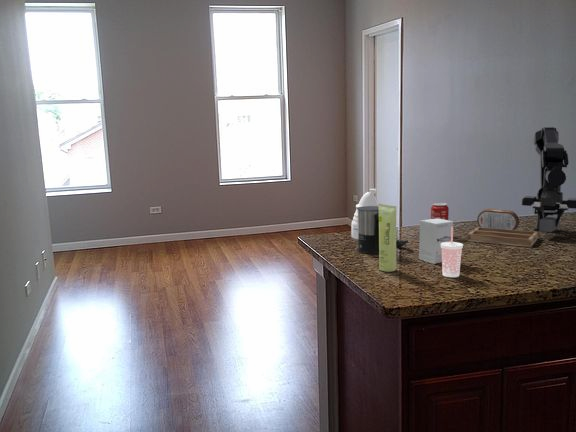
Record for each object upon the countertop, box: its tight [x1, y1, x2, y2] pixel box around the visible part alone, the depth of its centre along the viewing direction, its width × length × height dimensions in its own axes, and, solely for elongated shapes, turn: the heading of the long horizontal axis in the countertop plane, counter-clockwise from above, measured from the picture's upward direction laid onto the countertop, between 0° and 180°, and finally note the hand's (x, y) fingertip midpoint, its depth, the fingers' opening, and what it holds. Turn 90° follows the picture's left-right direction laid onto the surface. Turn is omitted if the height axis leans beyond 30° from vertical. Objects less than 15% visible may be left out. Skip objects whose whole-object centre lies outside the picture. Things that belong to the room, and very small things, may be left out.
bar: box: [538, 215, 561, 233], centre depth 210 cm, size 11×4×4 cm, turn 141°
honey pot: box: [350, 188, 380, 240], centre depth 217 cm, size 13×13×18 cm
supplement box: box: [418, 218, 454, 265], centre depth 181 cm, size 7×7×13 cm
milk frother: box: [356, 206, 409, 254], centre depth 196 cm, size 14×16×15 cm
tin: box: [476, 208, 520, 230], centre depth 221 cm, size 15×3×8 cm, turn 58°
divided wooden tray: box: [467, 226, 539, 248], centre depth 207 cm, size 14×21×2 cm
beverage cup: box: [441, 226, 464, 278], centre depth 165 cm, size 6×6×14 cm
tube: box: [378, 203, 397, 273], centre depth 171 cm, size 6×5×20 cm
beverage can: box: [430, 202, 450, 220], centre depth 216 cm, size 6×6×12 cm
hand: (549, 225), depth 210 cm, fingers closed on bar, 4 cm apart
